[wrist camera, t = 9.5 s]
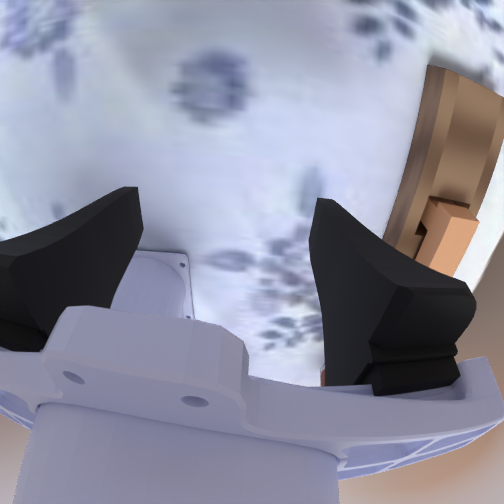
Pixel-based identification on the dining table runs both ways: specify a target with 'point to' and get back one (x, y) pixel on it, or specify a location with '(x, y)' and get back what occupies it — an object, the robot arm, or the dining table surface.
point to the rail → (447, 153)
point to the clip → (445, 234)
